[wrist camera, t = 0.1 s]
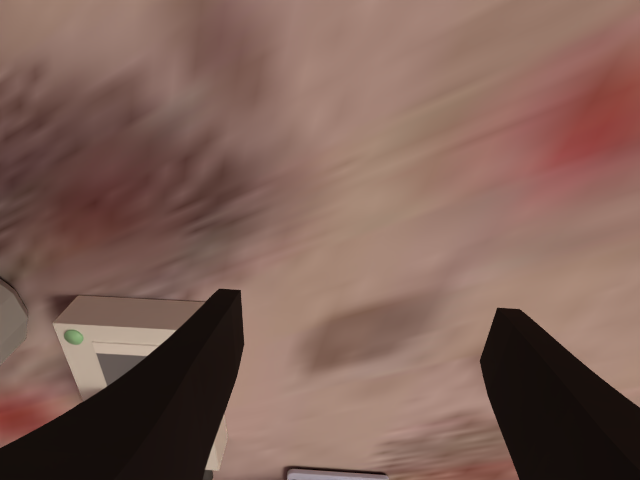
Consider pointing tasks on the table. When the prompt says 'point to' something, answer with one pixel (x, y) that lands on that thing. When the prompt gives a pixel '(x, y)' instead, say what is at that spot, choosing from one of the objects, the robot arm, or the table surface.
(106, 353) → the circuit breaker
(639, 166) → the table surface
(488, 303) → the table surface
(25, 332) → the water bottle
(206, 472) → the cord
